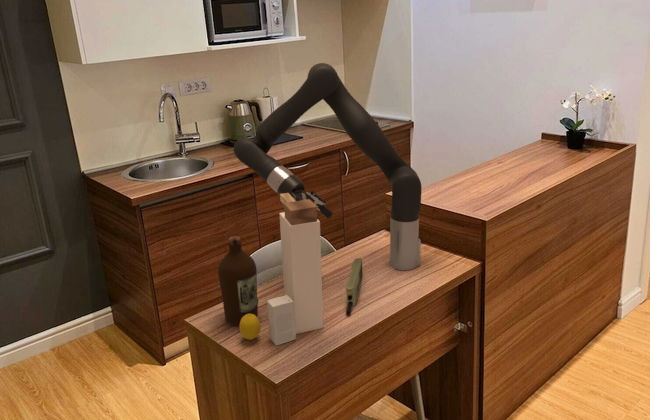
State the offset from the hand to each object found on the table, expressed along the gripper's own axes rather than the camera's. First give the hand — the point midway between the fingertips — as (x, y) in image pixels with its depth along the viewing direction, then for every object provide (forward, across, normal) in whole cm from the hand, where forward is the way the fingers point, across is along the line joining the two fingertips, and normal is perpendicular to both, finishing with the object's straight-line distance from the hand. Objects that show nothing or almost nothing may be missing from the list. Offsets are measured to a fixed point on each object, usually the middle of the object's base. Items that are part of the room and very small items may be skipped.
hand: (323, 218), depth 169 cm
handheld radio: (+19, +9, +17) cm, 27 cm away
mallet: (-3, -15, -3) cm, 15 cm away
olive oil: (+2, -17, +33) cm, 37 cm away
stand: (+16, -11, +23) cm, 30 cm away
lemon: (+10, -25, +30) cm, 40 cm away
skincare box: (+17, -21, +26) cm, 37 cm away
